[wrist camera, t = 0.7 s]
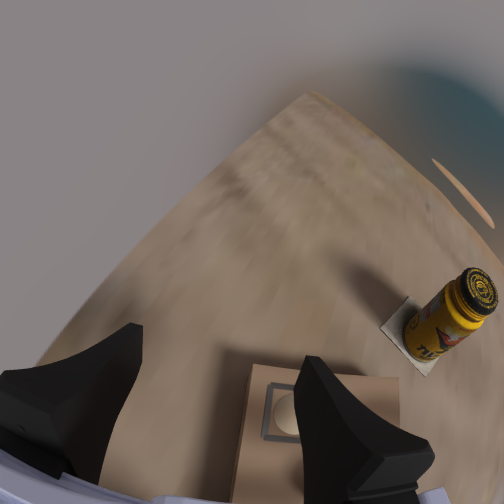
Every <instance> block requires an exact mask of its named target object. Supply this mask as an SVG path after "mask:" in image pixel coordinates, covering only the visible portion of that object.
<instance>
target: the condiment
mask: <svg viewBox="0 0 504 504" xmlns="http://www.w3.org/2000/svg"><path fill="white" fill-rule="evenodd" d="M497 303H498V294H497V290H496V288H495V285H494V283H493V282H492V280H491V279H490V277H489V276H488V275H487V274H486V273H485V272H484V271H482V270H481V269H479V268H467V269H466V270H464V272H463V273H462V274H461V275H460V276H458V277H457V278H456V280H452V281H450V282H449V283H448V284H446V285H445V286H444V288H443V289H442V290H441V291H440V292H439V293H438V294H437V295H436V296H435V297H434V298H433V299H432V300H431V301H430V302H429V303H428V304H427V305H426V306H425V307H423V309H422V308H421V307H420V306H419V305H418V303H417V302H416V301H415V300H414V299H413V298H412V297H411V296H410V297H409V298H408V299H407V300H406V301H405V302H404V303H403V304H402V306H401V307H400V308H399V309H398V310H397V311H396V312H395V313H394V314H393V315H392V316H391V317H390V318H389V320H388V321H387V322H386V323H385V324H384V325H383V326H382V327H381V328H380V329H381V330H382V331H383V332H385V334H386V335H387V336H388V337H389V338H390V339H391V340H392V341H393V342H394V343H395V344H396V345H397V346H398V348H399V349H400V350H401V351H402V352H403V353H404V355H405V356H406V357H407V358H408V359H409V360H410V361H411V362H412V363H413V364H414V366H415V367H416V368H417V369H418V370H419V371H420V372H421V373H422V374H423V375H424V376H425V377H426V376H427V375H428V373H429V372H430V370H431V369H432V367H433V366H434V364H435V363H436V361H437V360H438V358H439V357H440V356H441V355H442V354H444V353H445V352H447V351H448V350H449V349H451V348H452V347H454V346H455V345H456V344H458V343H459V342H460V341H462V340H463V339H464V338H466V337H467V336H469V335H470V334H471V333H473V332H474V331H476V330H477V329H478V328H479V327H480V326H481V325H482V323H483V321H484V319H485V318H486V317H487V316H488V315H489V314H491V313H492V312H494V310H495V308H496V306H497ZM400 329H401V331H400ZM400 332H402V334H401V333H400Z"/></svg>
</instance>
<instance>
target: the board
mask: <svg viewBox="0 0 504 504" xmlns="http://www.w3.org/2000/svg"><path fill="white" fill-rule="evenodd" d="M299 373H300V370H295V369H287V368H279V367H272V366H265V365H259V364H253V366H252V368H251V371H250V373H249V375H248V381H247V387H246V394H245V401H244V407H243V414H242V420H241V426H240V433H239V439H238V445H237V452H236V458H235V464H234V470H233V476H232V482H231V488H230V494H229V500H228V503H234V504H304V469H303V453H302V446H301V441H300V435H299V430H298V425H297V420H296V415H295V409H294V393H293V388H294V385H295V383H296V380H297V378H298V375H299ZM334 375H335V376H336V377H337V378H338V379H339V380H340V381H341V383H342V384H343V385H344V386H345V387H346V388H347V389H348V390H349V391H350V392H351V393H352V394H353V395H354V396H355V397H356V398H357V399H358V400H359V401H361V402H362V403H363V404H364V405H365V406H367V407H368V408H369V409H370V410H372V411H373V412H374V413H376V414H377V415H378V416H380V417H381V418H383V419H384V420H386V421H388V422H389V423H391V424H393V425H394V426H396V427H398V428H400V402H399V377H375V376H358V375H344V374H334Z"/></svg>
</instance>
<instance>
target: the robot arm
mask: <svg viewBox="0 0 504 504" xmlns="http://www.w3.org/2000/svg"><path fill="white" fill-rule="evenodd" d="M142 344H143V326H142V325H138V324H134V323H129V324H127V325H125V326H124V327H122V328H121V329H119V330H118V331H116V332H115V333H113V334H112V335H110V336H109V337H107V338H106V339H104V340H102V341H101V342H99V343H97V344H96V345H94V346H92V347H90V348H88V349H87V350H85V351H83V352H81V353H78V354H76V355H74V356H71V357H69V358H66V359H64V360H60V361H57V362H54V363H51V364H47V365H43V366H39V367H33V368H28V369H18V370H5V371H4V372H3V373H2V374H1V375H0V504H234V503H224V502H216V501H208V500H202V499H195V498H189V497H184V496H175V495H162V496H156V497H154V498H153V499H152V500H151V501H150V502H149V501H145V500H142V499H138V498H134V497H131V496H127V495H124V494H121V493H118V492H114V491H111V490H108V489H105V488H103V487H100V486H98V483H99V478H100V473H101V469H102V465H103V461H104V457H105V454H106V450H107V447H108V443H109V440H110V437H111V434H112V431H113V428H114V425H115V422H116V420H117V417H118V415H119V413H120V411H121V409H122V407H123V405H124V403H125V401H126V399H127V397H128V395H129V393H130V391H131V389H132V387H133V385H134V383H135V381H136V378H137V376H138V373H139V370H140V367H141V364H142ZM293 393H294V409H295V415H296V420H297V425H298V430H299V435H300V441H301V446H302V453H303V469H304V504H451V503H450V501H449V499H448V496H447V494H446V492H445V490H444V487H440V488H436V489H433V490H429V491H426V492H423V493H421V494H419V495H417V494H416V492H415V490H416V489H418V484H417V482H416V481H417V480H418V479H419V478H420V477H421V476H422V475H423V474H424V473H425V472H426V471H427V470H428V469H429V467H430V466H431V465H432V463H433V461H434V459H435V454H434V452H433V450H432V448H431V446H430V444H429V442H428V441H427V440H426V439H423V438H420V437H418V436H415V435H413V434H410V433H408V432H406V431H404V430H402V429H400V428H398V427H396V426H394V425H393V424H391V423H389V422H388V421H386V420H384V419H383V418H381V417H380V416H378V415H377V414H376V413H374V412H373V411H372V410H370V409H369V408H368V407H367V406H365V405H364V404H363V403H362V402H361V401H359V400H358V399H357V398H356V397H355V396H354V395H353V394H352V393H351V392H350V391H349V390H348V389H347V388H346V387H345V386H344V385H343V384H342V383H341V381H340V380H339V379H338V378H337V377H336V376H335V375H334V373H333V372H332V371H331V370H330V369H329V368H328V366H327V365H326V364H325V363H324V362H323V361H322V359H321V358H320V357H316V356H307V355H306V357H305V360H304V362H303V365H302V368H301V370H300V373H299V375H298V378H297V380H296V383H295V385H294V388H293Z"/></svg>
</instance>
